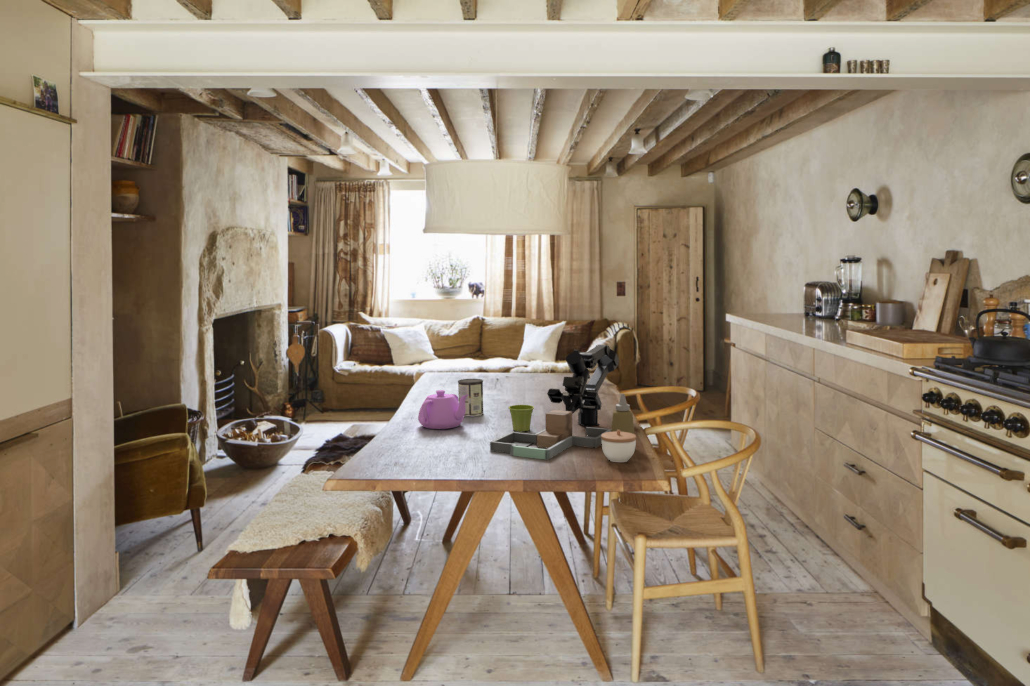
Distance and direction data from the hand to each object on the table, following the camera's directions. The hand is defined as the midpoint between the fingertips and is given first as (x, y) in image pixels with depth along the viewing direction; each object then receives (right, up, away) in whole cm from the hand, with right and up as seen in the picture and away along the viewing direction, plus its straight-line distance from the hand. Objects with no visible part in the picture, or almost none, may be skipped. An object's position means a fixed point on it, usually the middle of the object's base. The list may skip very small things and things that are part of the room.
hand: (567, 416), depth 247 cm
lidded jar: (+14, -10, -31) cm, 35 cm away
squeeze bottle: (+17, -9, -16) cm, 25 cm away
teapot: (-45, -6, +17) cm, 48 cm away
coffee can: (-37, -4, +41) cm, 55 cm away
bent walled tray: (-6, -8, -11) cm, 15 cm away
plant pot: (-16, -6, +11) cm, 21 cm away
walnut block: (-5, -8, -9) cm, 13 cm away
